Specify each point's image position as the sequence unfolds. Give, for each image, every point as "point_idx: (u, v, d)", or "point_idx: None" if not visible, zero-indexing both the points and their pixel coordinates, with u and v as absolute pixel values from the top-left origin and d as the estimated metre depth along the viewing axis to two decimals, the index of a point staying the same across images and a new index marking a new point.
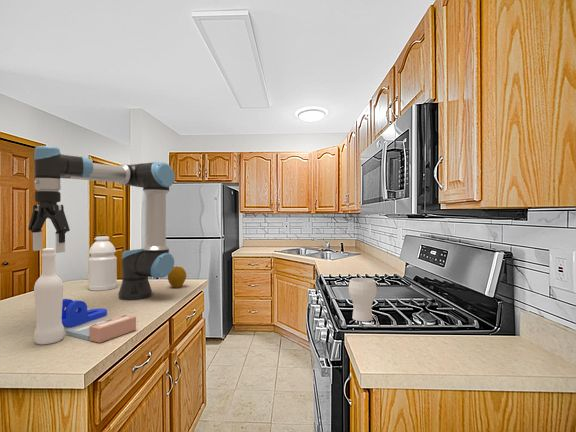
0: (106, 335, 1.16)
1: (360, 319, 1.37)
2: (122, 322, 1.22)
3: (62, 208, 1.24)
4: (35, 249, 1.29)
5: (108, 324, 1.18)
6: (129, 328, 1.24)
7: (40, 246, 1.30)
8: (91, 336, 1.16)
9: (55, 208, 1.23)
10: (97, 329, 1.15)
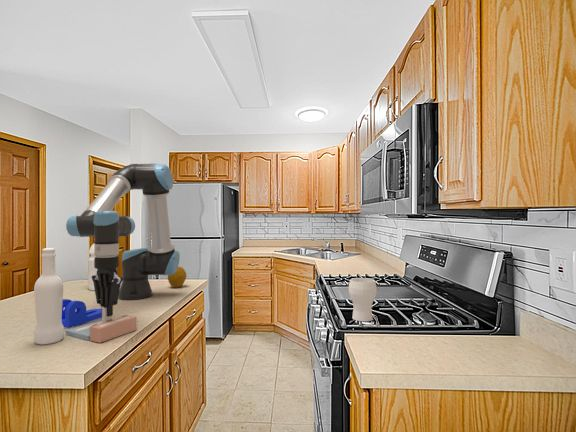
0: (106, 335, 1.16)
1: (360, 319, 1.37)
2: (122, 322, 1.22)
3: (120, 282, 1.21)
4: None
5: (108, 324, 1.18)
6: (129, 328, 1.24)
7: None
8: (92, 336, 1.16)
9: (114, 282, 1.19)
10: (97, 329, 1.15)
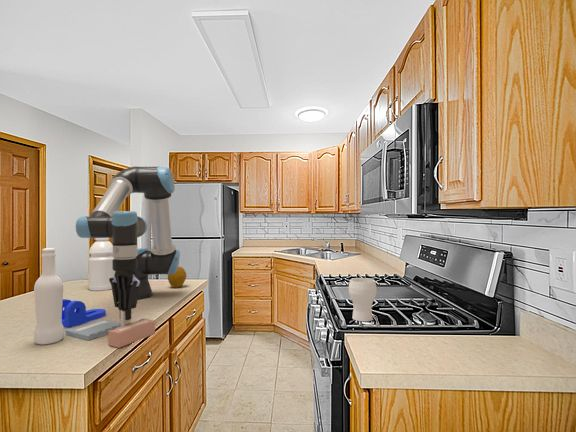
0: (125, 340, 1.12)
1: (360, 319, 1.37)
2: (141, 326, 1.18)
3: (139, 284, 1.17)
4: None
5: (127, 328, 1.14)
6: (148, 332, 1.20)
7: None
8: (111, 341, 1.12)
9: (133, 284, 1.15)
10: (117, 333, 1.10)
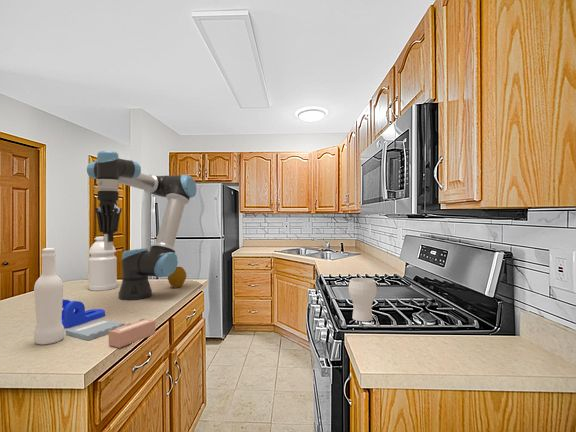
0: (126, 340, 1.12)
1: (360, 319, 1.37)
2: (142, 326, 1.18)
3: (120, 212, 1.41)
4: None
5: (128, 328, 1.14)
6: (148, 332, 1.20)
7: None
8: (111, 341, 1.12)
9: (114, 211, 1.39)
10: (117, 334, 1.10)
